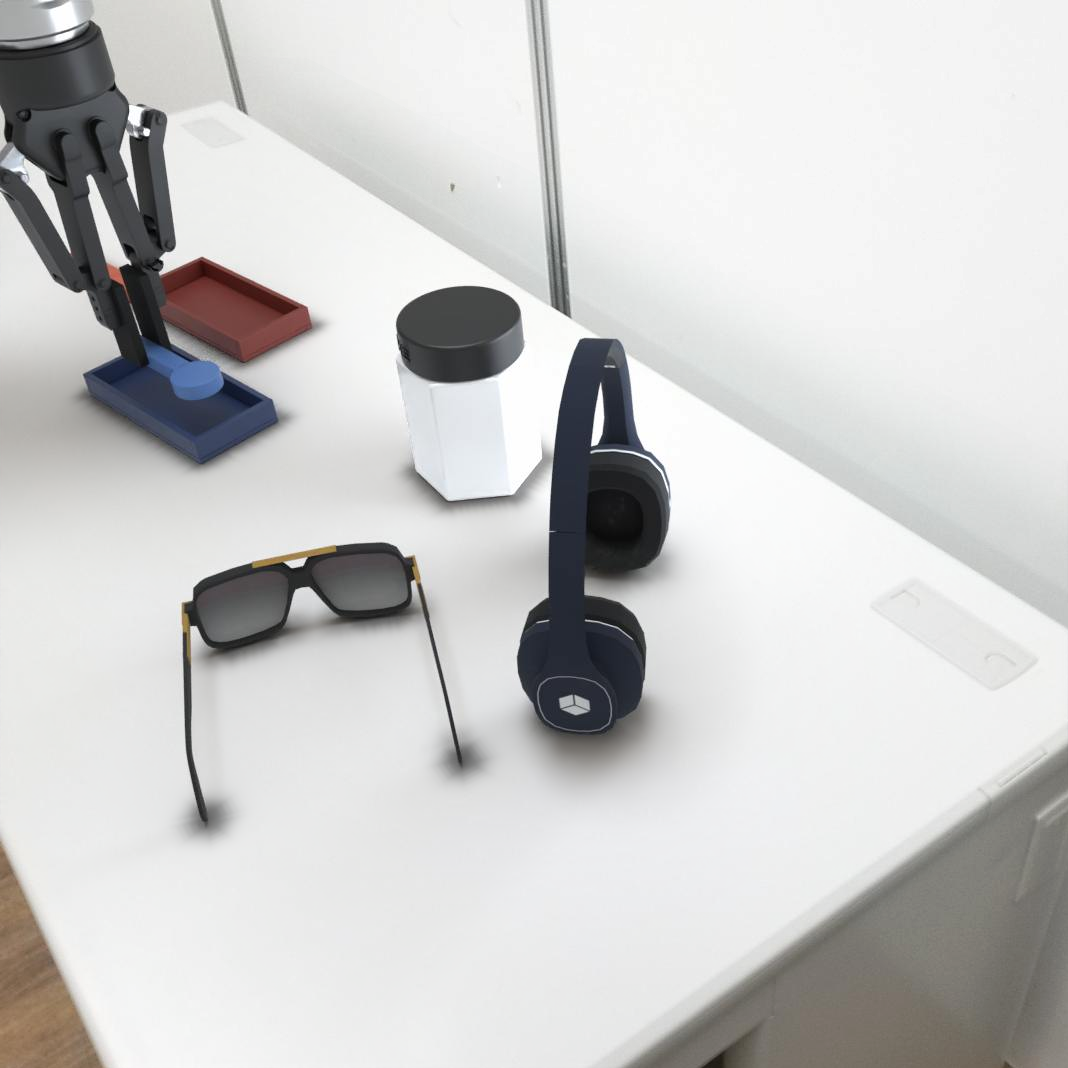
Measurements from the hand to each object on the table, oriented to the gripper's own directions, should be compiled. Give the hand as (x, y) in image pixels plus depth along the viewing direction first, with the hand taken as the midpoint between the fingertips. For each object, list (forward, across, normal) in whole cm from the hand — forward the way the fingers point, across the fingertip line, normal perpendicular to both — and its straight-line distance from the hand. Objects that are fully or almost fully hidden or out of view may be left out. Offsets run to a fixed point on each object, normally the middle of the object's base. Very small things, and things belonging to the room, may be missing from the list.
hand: (147, 353), depth 94 cm
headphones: (+4, +2, -44) cm, 45 cm away
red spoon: (+4, +8, +20) cm, 22 cm away
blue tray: (+4, 0, -3) cm, 5 cm away
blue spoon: (0, 0, -3) cm, 3 cm away
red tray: (+4, +10, +6) cm, 13 cm away
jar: (+4, +9, -27) cm, 28 cm away
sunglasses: (+4, -13, -36) cm, 38 cm away
